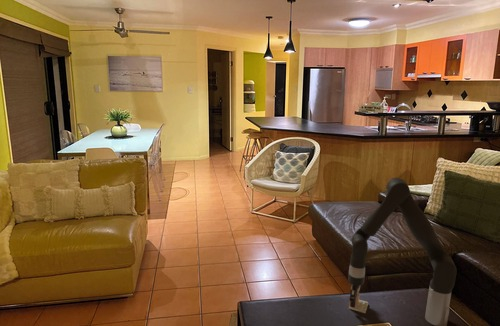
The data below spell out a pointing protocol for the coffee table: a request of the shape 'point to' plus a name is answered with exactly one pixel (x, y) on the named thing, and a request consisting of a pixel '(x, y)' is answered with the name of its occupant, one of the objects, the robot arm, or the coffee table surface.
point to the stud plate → (361, 306)
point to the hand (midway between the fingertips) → (354, 302)
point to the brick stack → (356, 301)
